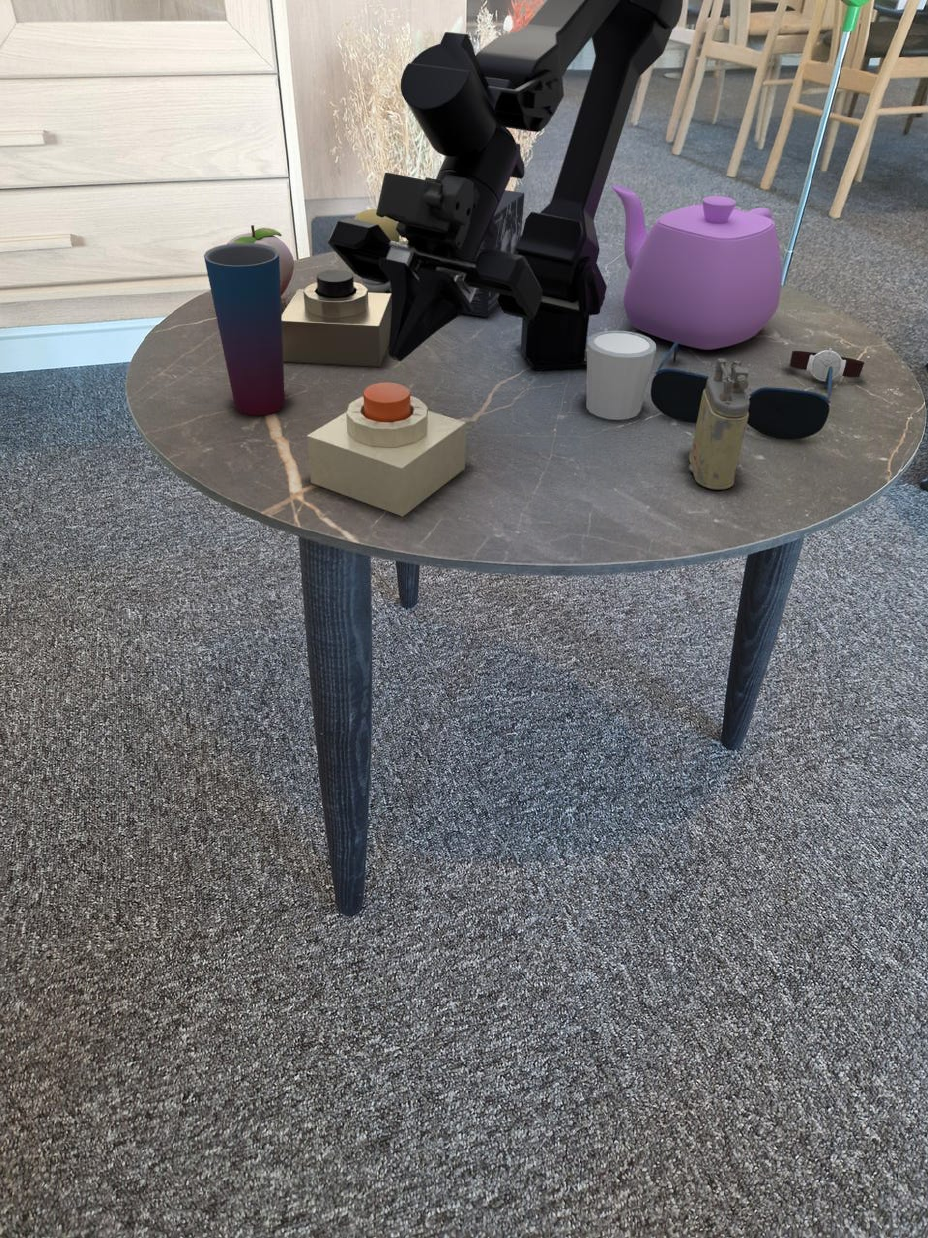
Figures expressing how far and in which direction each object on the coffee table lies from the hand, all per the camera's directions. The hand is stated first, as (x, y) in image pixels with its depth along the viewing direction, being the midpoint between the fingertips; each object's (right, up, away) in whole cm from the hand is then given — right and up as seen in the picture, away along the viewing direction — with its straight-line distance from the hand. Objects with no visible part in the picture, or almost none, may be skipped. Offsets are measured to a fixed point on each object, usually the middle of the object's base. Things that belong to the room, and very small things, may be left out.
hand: (394, 358), depth 78 cm
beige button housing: (-1, -9, +6) cm, 11 cm away
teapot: (+34, +14, +36) cm, 51 cm away
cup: (-15, 0, +17) cm, 22 cm away
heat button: (-8, +14, +25) cm, 30 cm away
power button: (-1, -4, +2) cm, 5 cm away
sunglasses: (+35, +1, +20) cm, 40 cm away
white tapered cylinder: (+21, 0, +18) cm, 28 cm away
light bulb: (-6, +21, +43) cm, 48 cm away
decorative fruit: (-20, +16, +37) cm, 45 cm away
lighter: (+29, -8, +8) cm, 31 cm away
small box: (+8, +19, +42) cm, 47 cm away
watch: (+46, +5, +26) cm, 53 cm away
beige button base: (-9, +9, +28) cm, 31 cm away
